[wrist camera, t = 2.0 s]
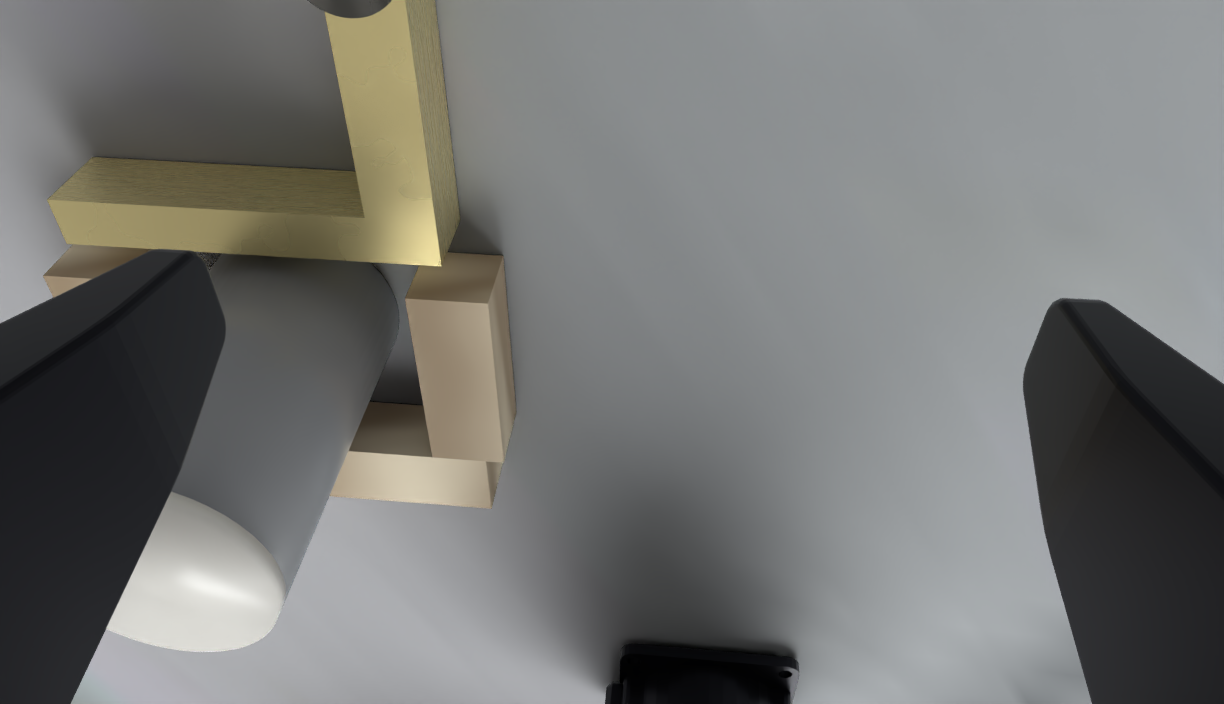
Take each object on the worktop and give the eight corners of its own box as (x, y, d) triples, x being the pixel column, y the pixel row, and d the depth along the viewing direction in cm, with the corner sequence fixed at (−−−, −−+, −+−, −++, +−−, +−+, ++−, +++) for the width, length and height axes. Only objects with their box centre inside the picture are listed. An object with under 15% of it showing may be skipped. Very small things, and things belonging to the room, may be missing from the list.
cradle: (503, 255, 23) (487, 303, 22) (520, 459, 28) (508, 510, 27) (85, 231, 24) (43, 275, 23) (172, 433, 29) (142, 481, 27)
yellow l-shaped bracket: (430, -175, 17) (388, -138, 15) (472, 220, 23) (446, 287, 21) (-45, -189, 18) (-150, -155, 16) (109, 199, 23) (48, 263, 21)
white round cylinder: (384, 231, 23) (243, 508, 16) (411, 378, 26) (302, 661, 20) (192, 220, 24) (-25, 487, 17) (241, 367, 27) (77, 641, 20)
